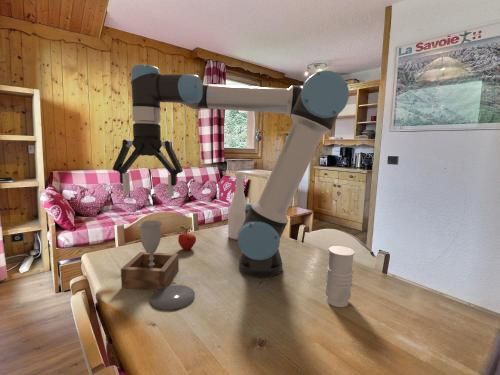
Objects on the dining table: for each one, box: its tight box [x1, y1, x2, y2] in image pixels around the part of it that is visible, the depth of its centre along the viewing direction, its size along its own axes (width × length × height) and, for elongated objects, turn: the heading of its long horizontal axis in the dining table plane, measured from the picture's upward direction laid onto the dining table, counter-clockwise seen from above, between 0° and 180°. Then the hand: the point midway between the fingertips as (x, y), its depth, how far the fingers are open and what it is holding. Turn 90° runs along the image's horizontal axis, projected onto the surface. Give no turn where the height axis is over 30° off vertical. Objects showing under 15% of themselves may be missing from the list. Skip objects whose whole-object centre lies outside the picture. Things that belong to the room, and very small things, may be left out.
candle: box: [325, 245, 355, 308], centre depth 79 cm, size 7×7×15 cm
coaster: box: [149, 284, 196, 311], centre depth 80 cm, size 12×12×1 cm
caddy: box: [120, 251, 179, 291], centre depth 90 cm, size 13×13×6 cm
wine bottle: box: [227, 171, 248, 241], centre depth 129 cm, size 10×10×30 cm
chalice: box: [138, 220, 163, 268], centre depth 89 cm, size 7×7×18 cm
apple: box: [176, 226, 197, 251], centre depth 114 cm, size 8×7×10 cm
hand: (148, 195), depth 86 cm, fingers open, 13 cm apart
